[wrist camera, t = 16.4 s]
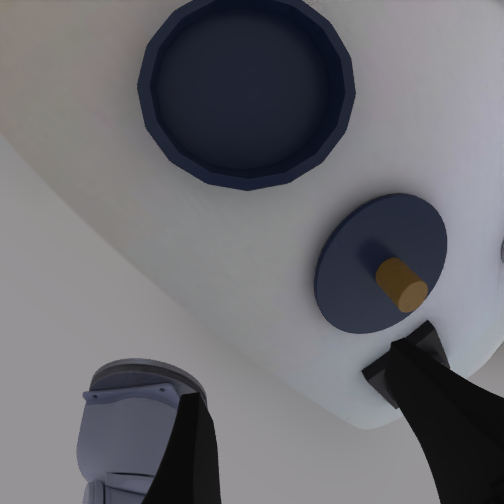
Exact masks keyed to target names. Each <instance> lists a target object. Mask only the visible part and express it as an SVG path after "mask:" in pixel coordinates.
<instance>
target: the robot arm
mask: <svg viewBox="0 0 504 504" xmlns="http://www.w3.org/2000/svg"><path fill="white" fill-rule="evenodd" d="M384 377H385V380H386V382H387V384H388V387H389V389H390V391H391V394H392V396H393V398H394V399H395V401H396V403H397V405H398V406H399V408H400V410H401V411H402V413H403V415H404V416H405V418H406V420H407V421H408V423H409V425H410V426H411V428H412V430H413V432H414V433H415V435H416V437H417V438H418V440H419V442H420V444H421V447H422V449H423V451H424V454H425V456H426V459H427V461H428V464H429V466H430V469H431V472H432V475H433V478H434V481H435V484H436V488H437V491H438V495H439V499H440V503H441V504H504V398H503V397H500V396H498V395H495V394H493V393H491V392H489V391H487V390H485V389H483V388H481V387H479V386H477V385H475V384H473V383H471V382H469V381H468V380H466V379H464V378H463V377H461V376H459V375H458V374H456V373H455V372H453V371H452V370H450V369H449V368H447V367H446V366H444V365H443V364H441V363H440V362H438V361H437V360H435V359H434V358H433V357H431V356H430V355H428V354H427V353H426V352H424V351H423V350H421V349H420V348H419V347H417V346H416V345H414V344H413V343H412V342H410V341H409V340H408V339H406V338H405V337H404V338H402V339H399V340H396V341H394V342H391V346H390V351H389V356H388V360H387V365H386V369H385V373H384ZM82 396H83V398H84V399H85V400H86V404H85V408H84V413H83V418H82V423H81V427H80V432H79V437H78V443H77V461H78V465H79V469H80V471H81V473H82V475H83V477H84V478H85V479H86V481H87V482H88V484H87V485H86V488H85V492H84V498H83V504H221V496H220V482H219V466H218V451H217V441H216V435H215V429H214V423H213V420H212V418H211V416H210V414H209V412H208V410H207V408H206V406H205V403H204V401H203V399H202V397H201V395H200V393H199V392H196V393H190V394H183V395H182V396H181V397H179V395H178V394H177V392H176V390H175V388H174V386H173V385H172V384H170V383H162V384H155V385H147V386H139V387H130V388H120V389H110V390H98V391H86V392H83V395H82Z"/></svg>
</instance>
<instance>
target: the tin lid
mask: <svg viewBox="0 0 504 504" xmlns="http://www.w3.org/2000/svg"><path fill="white" fill-rule="evenodd" d="M446 253H447V234H446V229H445V225H444V223H443V220H442V218H441V216H440V215H439V213H438V212H437V210H436V209H435V208H434V207H433V206H432V205H431V204H429V203H428V202H426V201H425V200H423V199H421V198H419V197H417V196H414V195H410V194H402V193H397V194H388V195H384V196H381V197H378V198H375V199H373V200H370V201H369V202H367V203H365V204H363V205H362V206H360V207H359V208H357V209H356V210H355V211H353V212H352V213H351V214H350V215H348V216H347V217H346V218H345V219H344V220H343V221H342V222H341V223H340V225H339V226H338V227H337V228H336V229H335V230H334V232H333V233H332V235H331V236H330V237H329V239H328V241H327V242H326V244H325V246H324V248H323V250H322V252H321V255H320V257H319V259H318V263H317V266H316V270H315V277H314V293H315V298H316V302H317V305H318V307H319V309H320V311H321V313H322V314H323V316H324V317H325V318H326V320H327V321H328V322H329V323H330V324H332V325H333V326H335V327H336V328H338V329H340V330H342V331H345V332H349V333H356V334H364V333H372V332H377V331H380V330H383V329H386V328H388V327H391V326H393V325H395V324H396V323H398V322H400V321H401V320H403V319H405V318H406V317H407V316H409V315H410V314H411V313H412V312H413V311H415V310H416V309H417V308H418V307H419V306H420V305H421V304H422V303H423V301H424V300H425V299H426V298H427V297H428V295H429V294H430V292H431V291H432V289H433V288H434V286H435V285H436V283H437V281H438V279H439V277H440V274H441V272H442V269H443V266H444V263H445V259H446Z"/></svg>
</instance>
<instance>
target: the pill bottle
mask: <svg viewBox="0 0 504 504" xmlns="http://www.w3.org/2000/svg"><path fill="white" fill-rule="evenodd" d="M502 260H503V263H504V243H503V248H502Z"/></svg>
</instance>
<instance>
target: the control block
mask: <svg viewBox="0 0 504 504" xmlns="http://www.w3.org/2000/svg"><path fill="white" fill-rule="evenodd" d="M406 339H408V340H409V341H410V342H412V343H413V344H414V345H416V346H417V347H419V348H420V349H421V350H423V351H424V352H426V353H427V354H428V355H430V356H431V357H433V358H434V359H435V360H437V361H438V362H440V363H441V364H443V365H444V366H446V367H447V368H449V369H450V366H449V363H448V360H447V357H446V355H445V352H444V349H443V347H442V344H441V341H440V339H439V336H438V334H437V331H436V329H435V328H434V326H433V325H432V324H431V323H430V322H429V321H428V320H427V321H426V322H425V323H424V324H422V325H421V326H420V327H419V328H418V329H416V330H415V331H414V332H413V333H411V334H410V335H409V336H408V337H407V338H406ZM388 356H389V351H388V352H387V353H386V354H384V355H383V356H382V357H380V358H379V359H378V360H376V361H375V362H374V363H372V364H371V365H369V366H368V367H367V368H365V369H364V370H362V373H363V375H364V377H365V379H366V381H367V382H368V383H369V384H370V385H371V386H372V387H373V388H374V389H375V390H377V391H378V392H379V393H380V394H381V395H382V396H383V397H384V398H385V399H386V400H387V401H388V402H389V403H390V404H391V405H392V406H393V407H394V408H395V409H397V408H399V406H398V405H397V403H396V401H395V399H394V398H393V396H392V394H391V391H390V389H389V387H388V384H387V382H386V380H385V377H384V373H385V369H386V365H387V360H388Z"/></svg>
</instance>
